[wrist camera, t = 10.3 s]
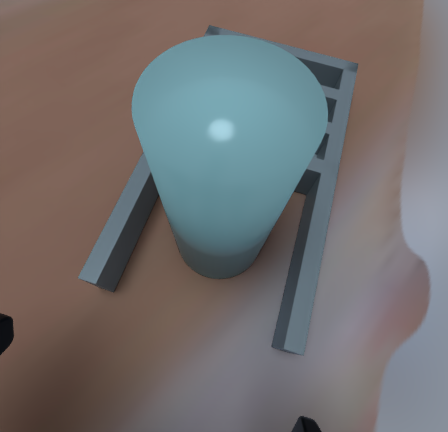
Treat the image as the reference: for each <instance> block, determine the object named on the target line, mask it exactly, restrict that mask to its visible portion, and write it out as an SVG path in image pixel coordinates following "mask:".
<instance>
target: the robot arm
mask: <svg viewBox="0 0 448 432" xmlns="http://www.w3.org/2000/svg"><path fill="white" fill-rule="evenodd" d="M13 338H14V330H13V319H12V317H10V316H7V315H4V314H1V313H0V355H1V354H2V353H3V352H4V351H5V350H6V349H7V348H8V347H9V345H10V344H11V343H12V341H13ZM292 432H322V431H321V430H320V428H319V427H318V425H317V423H316V422H315V421H314V420H313V419H310V418H307V417H304V416H300V417H299V418H298V420H297V422H296V424H295V426H294V428H293V430H292Z"/></svg>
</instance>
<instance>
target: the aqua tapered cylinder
mask: <svg viewBox="0 0 448 432" xmlns="http://www.w3.org/2000/svg"><path fill="white" fill-rule="evenodd" d="M132 117H133V121H134V125H135V128H136V131H137V134H138V137H139V139H140V142H141V145H142V148H143V151H144V154H145V156H146V159H147V162H148V165H149V168H150V170H151V173H152V176H153V179H154V182H155V184H156V187H157V190H158V193H159V196H160V198H161V201H162V204H163V207H164V210H165V213H166V215H167V218H168V221H169V224H170V227H171V229H172V232H173V235H174V238H175V241H176V243H177V246H178V249H179V252H180V254H181V256H182V258H183V260H184V261H185V263H186V264H187V265H188V266H189V267H190V268H191V269H192V270H194V271H195V272H197V273H198V274H200V275H202V276H205V277H208V278H213V279H225V278H231V277H234V276H236V275H238V274H240V273H242V272H244V271H245V270H246V269H247V268H249V267H250V266H251V264H252V263H253V262H254V260H255V259H256V257H257V256H258V254H259V252H260V250H261V248H262V247H263V245H264V243H265V241H266V240H267V238H268V236H269V234H270V232H271V231H272V229H273V227H274V225H275V224H276V222H277V220H278V218H279V216H280V215H281V213H282V211H283V209H284V208H285V206H286V204H287V202H288V200H289V199H290V197H291V195H292V193H293V192H294V190H295V188H296V186H297V184H298V183H299V181H300V179H301V177H302V176H303V174H304V172H305V170H306V168H307V167H308V165H309V163H310V161H311V160H312V158H313V156H314V154H315V152H316V151H317V149H318V147H319V145H320V144H321V141H322V139H323V137H324V134H325V132H326V127H327V123H328V107H327V101H326V98H325V94H324V92H323V90H322V87H321V85H320V83H319V82H318V80H317V79H316V77H315V76H314V74H313V73H312V72H311V71H310V70H309V68H308V67H307V66H305V65H304V64H303V63H302V62H301V61H300V60H299V59H297V58H296V57H295V56H293V55H292V54H290V53H289V52H287V51H285V50H284V49H282V48H280V47H277V46H275V45H273V44H271V43H268V42H265V41H262V40H258V39H255V38H250V37H244V36H236V35H214V36H206V37H200V38H196V39H192V40H189V41H185V42H183V43H181V44H178V45H176V46H174V47H172V48H170V49H168V50H166V51H165V52H163V53H162V54H161V55H159V56H158V57H157V58H156V59H154V60H153V61H152V62H151V63H150V64H149V65H148V67H147V68H146V69H145V70H144V71H143V73H142V75H141V76H140V78H139V79H138V82H137V84H136V86H135V89H134V93H133V97H132Z"/></svg>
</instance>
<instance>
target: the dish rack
mask: <svg viewBox="0 0 448 432" xmlns="http://www.w3.org/2000/svg"><path fill="white" fill-rule="evenodd" d="M214 35H236V36H244V37H250V38H255V39H258V40H262V41H265V42H268V43H271V44H273V45H275V46H277V47H280V48H282V49H284V50H285V51H287V52H289V53H290V54H292V55H293V56H295V57H296V58H297V59H299V60H300V61H301V62H302V63H303V64H304V65H305V66H307V67H308V68H309V70H310V71H311V72H312V73H313V74H314V76H315V77H316V79H317V80H318V82H319V83H320V85H321V87H322V90H323V92H324V94H325V98H326V101H327V107H328V123H327V127H326V132H325V134H324V137H323V139H322V141H321V144H320V145H319V147H318V149H317V151H316V152H315V154H314V156H313V158H312V160H311V161H310V163H309V165H308V167H307V168H306V170H305V172H304V174H303V176H302V177H301V179H300V181H299V183H298V184H297V186H296V188H295V190H294V191H295V192H299V193H302V194H305V195H306V199H305V203H304V208H303V212H302V217H301V221H300V225H299V230H298V234H297V238H296V243H295V247H294V251H293V256H292V260H291V264H290V269H289V273H288V277H287V282H286V286H285V290H284V295H283V299H282V303H281V308H280V312H279V317H278V321H277V325H276V330H275V334H274V338H273V343H272V347H273V348H276V349H279V350H282V351H285V352H288V353H293V354H298V355H303V356H304V351H305V346H306V340H307V335H308V330H309V324H310V319H311V314H312V308H313V303H314V297H315V292H316V287H317V281H318V276H319V271H320V265H321V260H322V255H323V249H324V244H325V239H326V233H327V228H328V223H329V217H330V212H331V207H332V201H333V196H334V191H335V185H336V180H337V175H338V169H339V164H340V159H341V153H342V148H343V143H344V137H345V132H346V127H347V121H348V116H349V111H350V105H351V100H352V95H353V89H354V84H355V79H356V73H357V68H358V64H357V63H353V62H350V61H346V60H342V59H338V58H334V57H330V56H326V55H322V54H319V53H315V52H311V51H307V50H303V49H299V48H295V47H292V46H288V45H284V44H280V43H276V42H272V41H268V40H265V39H261V38H257V37H253V36H249V35H245V34H241V33H237V32H234V31H230V30H226V29H222V28H218V27H214V26H210V25H209V27H208V29H207V31H206V33H205V35H204V37H206V36H214ZM158 195H159V193H158V190H157V187H156V184H155V182H154V179H153V176H152V173H151V170H150V168H149V165H148V162H147V159H146V156H145V154H144V152H143V154H142V156H141V158H140V160H139V162H138V164H137V165H136V167H135V169H134V171H133V173H132V175H131V177H130V179H129V181H128V183H127V185H126V187H125V188H124V190H123V192H122V194H121V196H120V198H119V200H118V202H117V204H116V206H115V208H114V210H113V211H112V213H111V215H110V217H109V219H108V221H107V223H106V225H105V227H104V229H103V231H102V233H101V234H100V236H99V238H98V240H97V242H96V244H95V246H94V248H93V250H92V252H91V254H90V256H89V257H88V259H87V261H86V263H85V265H84V267H83V269H82V271H81V273H80V275H79V277H78V278H79V279H81V280H84V281H86V282H88V283H90V284H92V285H95V286H97V287H99V288H102V289H105V290H108V291H111V292H114V290H115V288H116V286H117V284H118V282H119V279H120V277H121V275H122V273H123V271H124V269H125V266H126V264H127V262H128V260H129V258H130V256H131V253H132V251H133V249H134V247H135V245H136V243H137V241H138V238H139V236H140V234H141V232H142V230H143V228H144V225H145V223H146V221H147V219H148V217H149V215H150V212H151V210H152V208H153V206H154V204H155V202H156V199H157V197H158Z"/></svg>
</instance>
